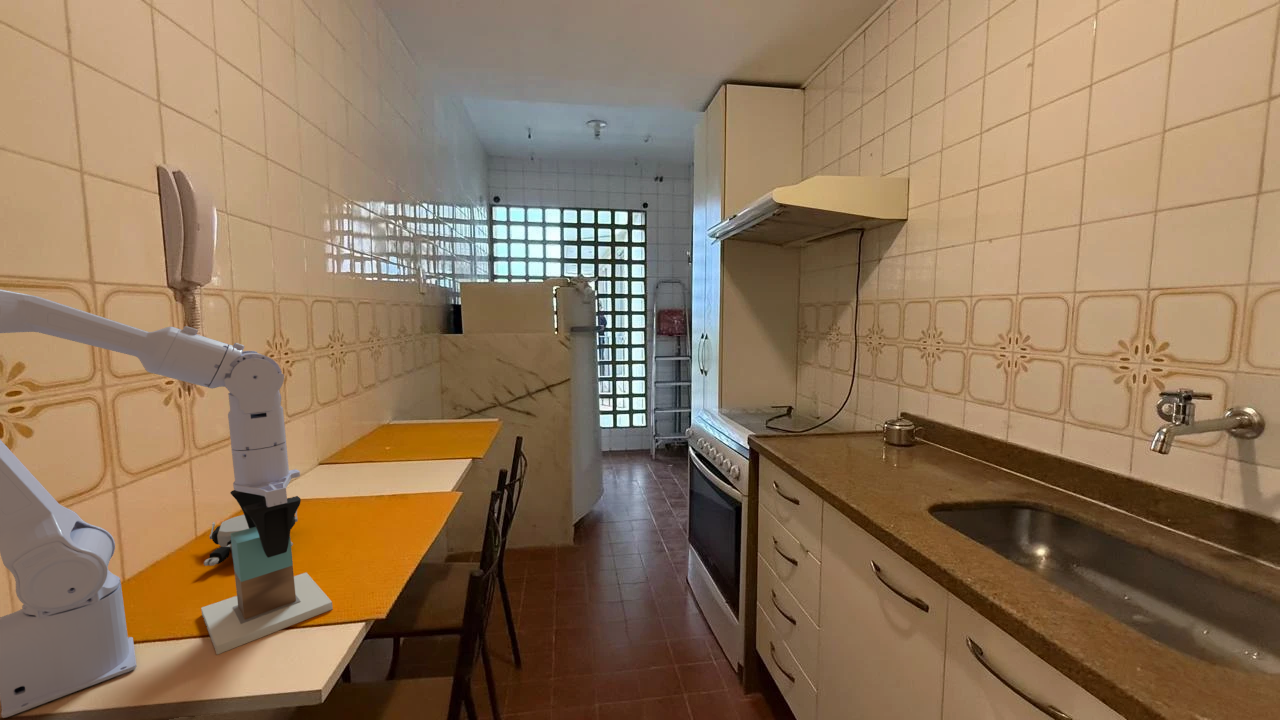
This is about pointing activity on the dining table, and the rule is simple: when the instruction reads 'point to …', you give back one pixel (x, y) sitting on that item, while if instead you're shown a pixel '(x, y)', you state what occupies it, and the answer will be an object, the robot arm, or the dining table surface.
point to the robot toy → (228, 537)
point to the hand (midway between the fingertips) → (269, 545)
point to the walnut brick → (265, 592)
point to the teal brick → (255, 555)
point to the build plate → (262, 616)
